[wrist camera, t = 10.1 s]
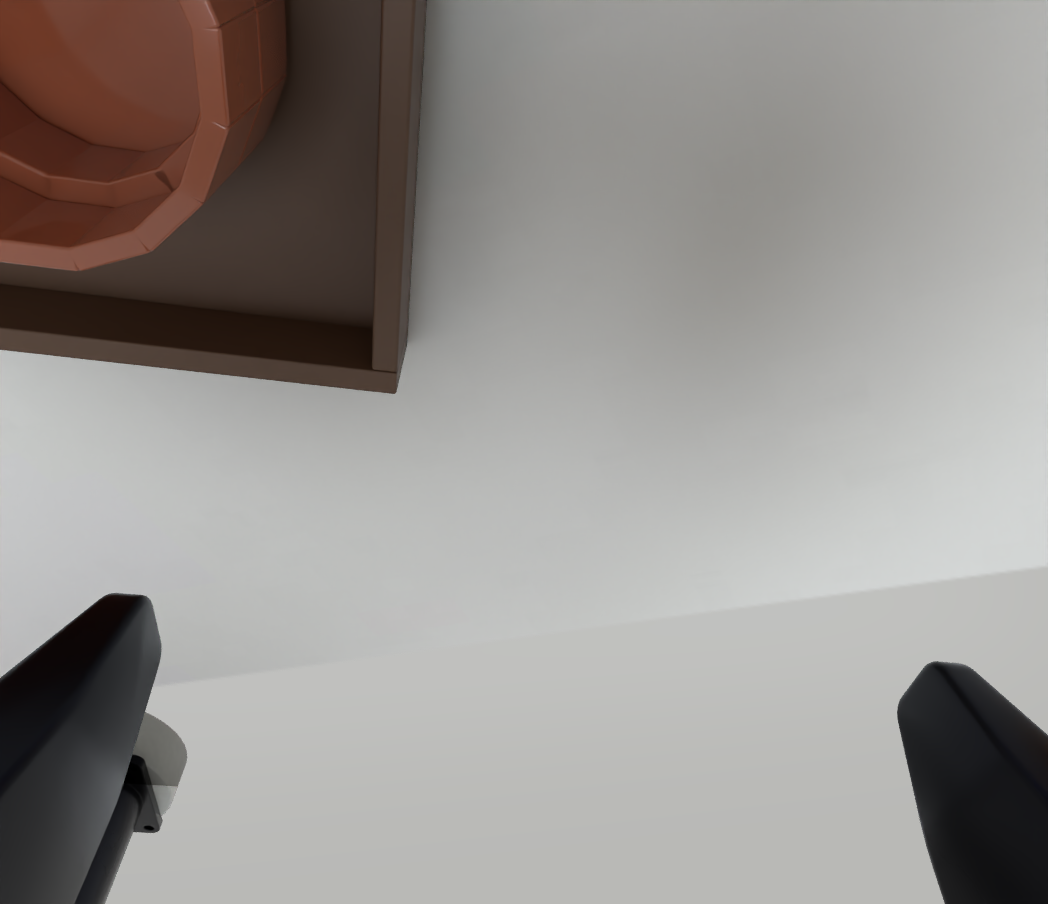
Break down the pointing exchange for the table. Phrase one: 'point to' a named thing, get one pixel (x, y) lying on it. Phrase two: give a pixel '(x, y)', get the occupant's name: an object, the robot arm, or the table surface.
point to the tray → (273, 231)
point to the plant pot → (126, 118)
